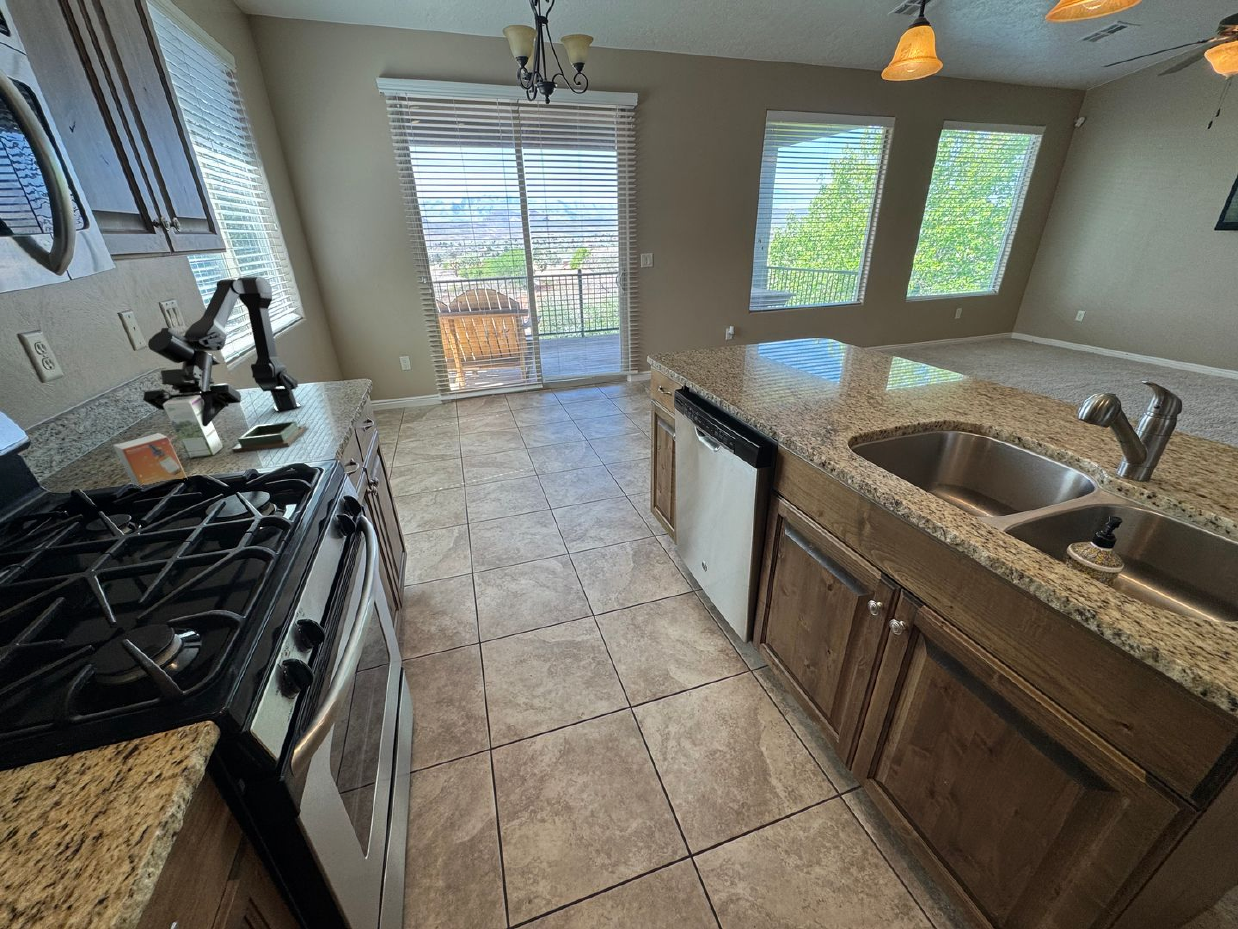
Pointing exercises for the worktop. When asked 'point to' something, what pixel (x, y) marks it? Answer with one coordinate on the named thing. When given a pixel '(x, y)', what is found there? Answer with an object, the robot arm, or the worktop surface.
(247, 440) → the pad
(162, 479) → the small box
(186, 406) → the syrup box
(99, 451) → the worktop surface
